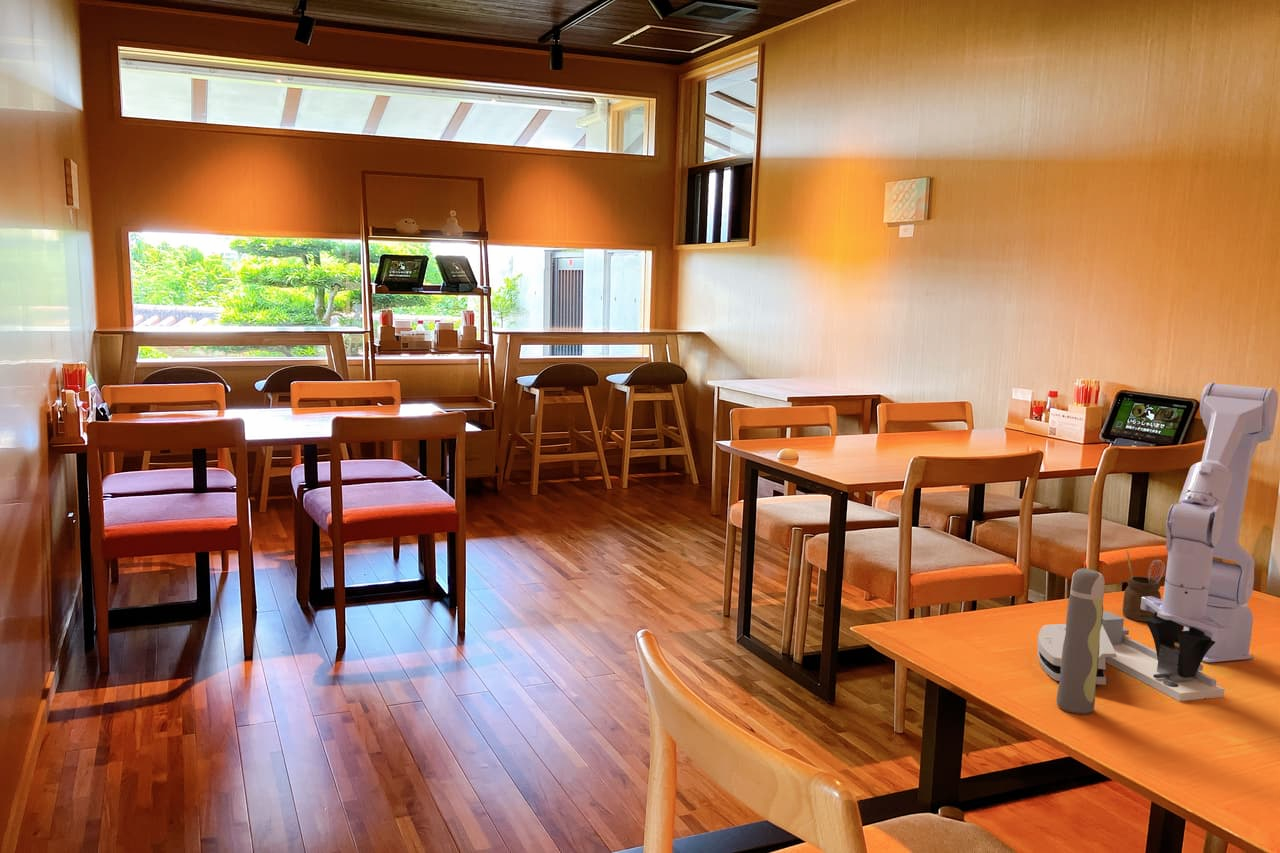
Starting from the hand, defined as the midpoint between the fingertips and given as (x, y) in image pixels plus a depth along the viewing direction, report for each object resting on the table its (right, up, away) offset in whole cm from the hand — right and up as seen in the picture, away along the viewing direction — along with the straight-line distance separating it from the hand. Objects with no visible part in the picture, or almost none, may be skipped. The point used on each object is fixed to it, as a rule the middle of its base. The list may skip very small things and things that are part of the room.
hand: (1176, 671), depth 148 cm
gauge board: (-2, -1, +6) cm, 6 cm away
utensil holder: (+10, +2, +31) cm, 33 cm away
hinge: (-9, +1, +5) cm, 10 cm away
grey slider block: (0, -1, 0) cm, 1 cm away
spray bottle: (-19, -3, -9) cm, 22 cm away
